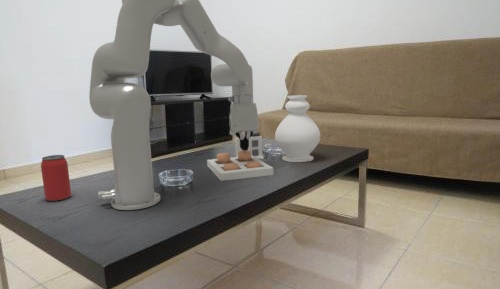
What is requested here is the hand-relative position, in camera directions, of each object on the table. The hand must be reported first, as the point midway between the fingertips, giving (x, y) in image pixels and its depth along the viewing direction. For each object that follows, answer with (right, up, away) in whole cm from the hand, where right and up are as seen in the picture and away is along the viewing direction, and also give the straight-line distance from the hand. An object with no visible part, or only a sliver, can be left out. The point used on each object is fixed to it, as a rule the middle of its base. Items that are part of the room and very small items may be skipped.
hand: (244, 149), depth 131 cm
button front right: (+3, -7, -8) cm, 12 cm away
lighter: (+4, -2, +24) cm, 24 cm away
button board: (-2, -7, -5) cm, 9 cm away
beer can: (-52, -14, -30) cm, 62 cm away
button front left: (-4, -8, -11) cm, 14 cm away
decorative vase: (+21, -4, +11) cm, 24 cm away
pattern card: (+2, -4, +12) cm, 13 cm away
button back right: (0, -4, +1) cm, 4 cm away
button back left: (-8, -4, -2) cm, 9 cm away
